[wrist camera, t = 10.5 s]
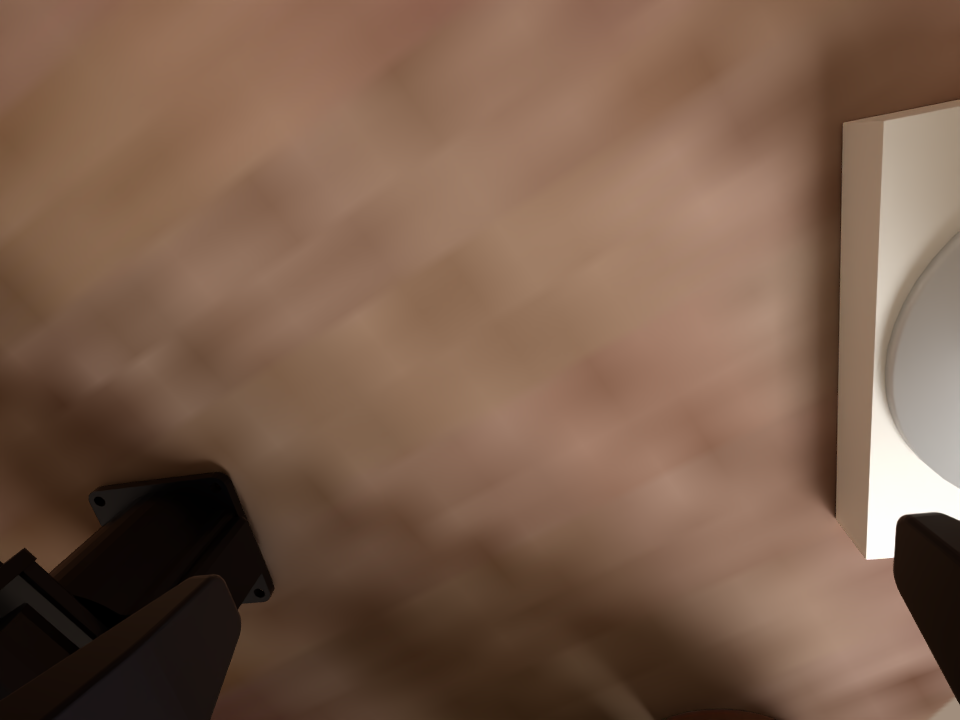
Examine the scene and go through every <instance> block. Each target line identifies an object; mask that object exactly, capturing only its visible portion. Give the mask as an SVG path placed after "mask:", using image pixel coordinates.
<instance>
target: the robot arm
mask: <svg viewBox="0 0 960 720" xmlns="http://www.w3.org/2000/svg"><path fill="white" fill-rule="evenodd" d="M215 483H217V484H219V485H220V487H218V486H217V485H216V484H215ZM89 502H90V504H91V506H92V508H93V510H94V512H95V514H96V516H97V518H98V520H99V522H100V524H101V526H102V527H101V528H100V529H99V530H98V531H96V532H95V533H94V534H93V535H92V536H91V537H90V538H88V539H87V540H86V541H85V542H84V543H83V544H82V545H81V546H79V547H78V548H77V549H76V550H75V551H74V552H73V553H71V554H70V555H69V556H68V557H67V558H66V559H65V560H63V561H62V562H61V563H60V564H59V565H58V566H57V567H55V568H54V569H53V570H52V571H51V572H50V573H49V574H48V573H47V572H46V571H45V570H44V569H43V568H42V567H41V566H39V565H38V564H37V563H36V562H35V560H36V559H37V558H36V557H34V556H33V555H32V554H31V553H30V552H29V551H28V550H27V549H25V548H24V549H22V550H21V551H20V552H18V553H17V554H16V555H14V556H13V557H12V558H10V559H9V560H8V561H6V562H5V563H4V564H3V563H2V562H1V561H0V720H210V719H211V716H212V713H213V711H214V708H215V705H216V702H217V699H218V696H219V693H220V690H221V687H222V685H223V682H224V679H225V676H226V673H227V670H228V667H229V664H230V662H231V659H232V656H233V653H234V650H235V647H236V644H237V641H238V639H239V635H240V631H241V618H240V614H239V612H238V609H239V607H240V606H241V604H243V603H256V602H265V601H267V600H268V599H269V598H270V597H271V595H272V593H273V592H274V585H273V583H272V580H271V578H270V575H269V573H268V570H267V568H266V565H265V563H264V560H263V558H262V555H261V553H260V551H259V548H258V546H257V543H256V541H255V538H254V536H253V533H252V531H251V528H250V526H249V523H248V521H247V518H246V516H245V514H244V511H243V509H242V506H241V504H240V501H239V499H238V496H237V494H236V491H235V489H234V486H233V484H232V481H231V480H230V478H229V477H228V476H227V475H225V474H223V473H221V472H214V473H206V474H197V475H189V476H181V477H173V478H165V479H157V480H149V481H140V482H132V483H124V484H116V485H108V486H101V487H98V488H97V489H96V490H94V491H93V492H92V493H91V494H90V495H89ZM893 573H894V578H895V582H896V585H897V588H898V590H899V592H900V594H901V596H902V598H903V600H904V602H905V603H906V605H907V607H908V609H909V611H910V613H911V615H912V617H913V618H914V620H915V622H916V624H917V626H918V628H919V630H920V632H921V633H922V635H923V637H924V639H925V641H926V643H927V645H928V647H929V648H930V650H931V652H932V654H933V656H934V658H935V660H936V661H937V663H938V665H939V667H940V669H941V671H942V673H943V675H944V676H945V678H946V680H947V682H948V684H949V686H950V688H951V690H952V691H953V693H954V695H955V697H956V699H957V701H958V702H959V704H960V520H957V519H955V518H953V517H950V516H948V515H946V514H943V513H939V512H927V513H916V514H906V515H903V516H901V517H900V518H899V519H898V521H897V524H896V532H895V548H894V563H893ZM260 589H261V590H260ZM262 590H263V591H262Z"/></svg>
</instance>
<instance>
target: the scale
mask: <svg viewBox="0 0 960 720" xmlns="http://www.w3.org/2000/svg"><path fill="white" fill-rule="evenodd" d="M927 512H939V513H943V514H946V515H948V516H950V517H953V518H955V519H957V520H960V100H955V101H950V102H944V103H939V104H934V105H929V106H924V107H919V108H914V109H909V110H904V111H899V112H894V113H889V114H884V115H879V116H874V117H869V118H864V119H859V120H854V121H849V122H844V123H843V151H842V207H841V262H840V318H839V373H838V429H837V484H836V520H837V521H838V523H839V524H840V526H841V527H842V528H843V530H844V531H845V532H846V534H847V535H848V536H849V538H850V539H851V540H852V542H853V543H854V544H855V546H856V547H857V548H858V550H859V551H860V552H861V554H862V555H863V556H864V558H865V559H866V560H869V559H882V558H894V548H895V532H896V524H897V521H898V519H899V518H900V517H901V516H903V515H906V514H916V513H927Z"/></svg>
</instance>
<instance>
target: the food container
mask: <svg viewBox="0 0 960 720" xmlns="http://www.w3.org/2000/svg"><path fill="white" fill-rule="evenodd" d="M663 720H776V719H774V718H771V717H767V716H764V715H761V714H758V713H752V712H747V711H742V710H729V709H708V710H699V711H692V712H686V713H682V714H678V715H674V716H671V717H668V718H666V719H663Z"/></svg>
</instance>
